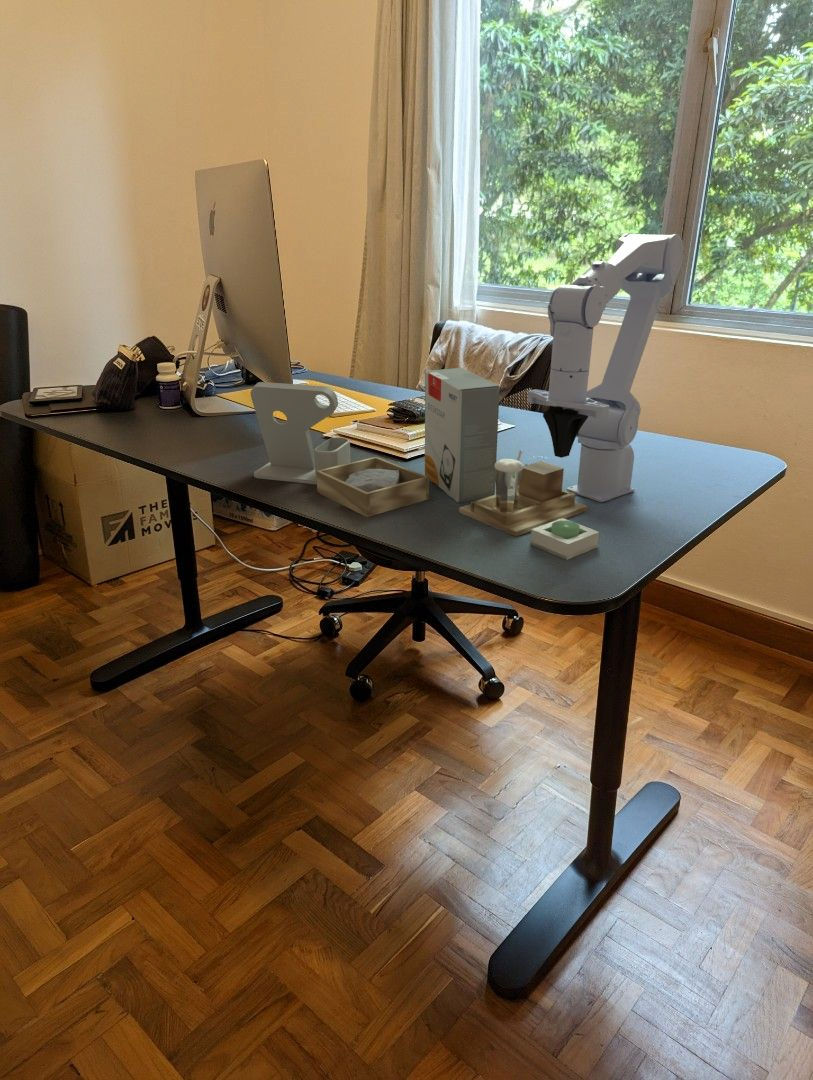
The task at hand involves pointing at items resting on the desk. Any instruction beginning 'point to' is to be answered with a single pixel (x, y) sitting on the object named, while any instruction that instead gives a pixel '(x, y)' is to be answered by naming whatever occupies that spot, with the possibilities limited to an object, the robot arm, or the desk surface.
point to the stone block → (374, 479)
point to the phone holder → (296, 431)
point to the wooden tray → (376, 501)
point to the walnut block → (541, 481)
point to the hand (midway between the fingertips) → (561, 455)
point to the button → (565, 529)
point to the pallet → (523, 512)
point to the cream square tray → (564, 541)
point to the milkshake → (508, 483)
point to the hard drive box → (461, 433)
